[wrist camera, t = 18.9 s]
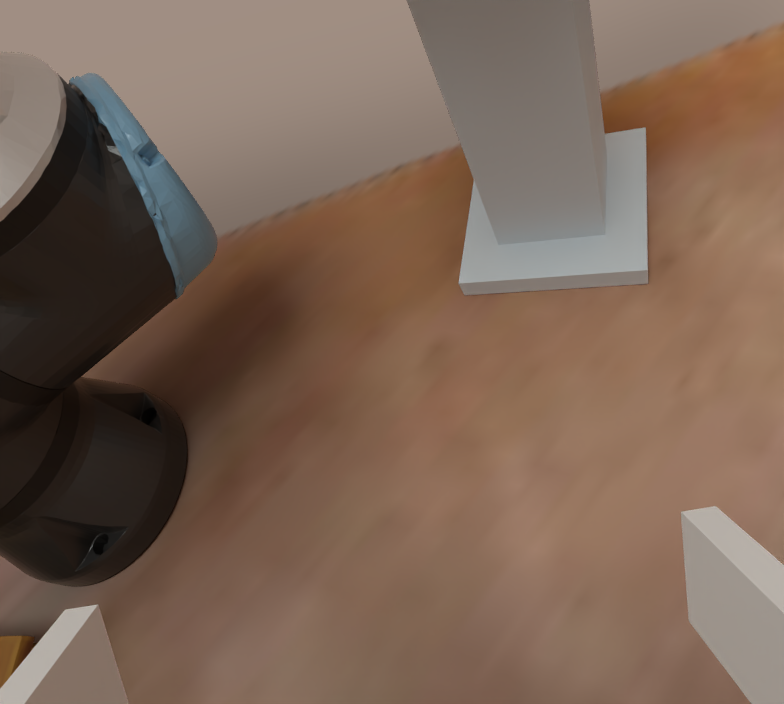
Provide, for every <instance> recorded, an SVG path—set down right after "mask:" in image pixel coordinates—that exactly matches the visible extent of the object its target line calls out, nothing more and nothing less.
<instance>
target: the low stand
mask: <svg viewBox="0 0 784 704" xmlns="http://www.w3.org/2000/svg"><path fill="white" fill-rule="evenodd" d="M407 2H408V5H409V8H410V10H411V13H412V16H413V18H414V21H415V24H416V26H417V29H418V32H419V34H420V37H421V40H422V42H423V45H424V48H425V50H426V53H427V56H428V58H429V61H430V64H431V66H432V69H433V71H434V74H435V77H436V80H437V82H438V85H439V88H440V90H441V93H442V95H443V98H444V101H445V104H446V106H447V109H448V112H449V114H450V117H451V120H452V122H453V125H454V127H455V130H456V133H457V136H458V138H459V141H460V144H461V146H462V149H463V152H464V154H465V157H466V160H467V162H468V165H469V168H470V170H471V173H472V176H473V178H474V183H473V190H472V196H471V203H470V210H469V217H468V223H467V230H466V237H465V243H464V250H463V257H462V264H461V270H460V277H459V285H460V287H461V289H462V291H463V293H464V295H477V294H493V293H509V292H525V291H541V290H557V289H573V288H589V287H605V286H621V285H637V284H648V229H647V157H646V127H645V128H639V129H632V130H626V131H620V132H613V133H607V134H605V133H604V124H603V115H602V107H601V98H600V89H599V81H598V72H597V63H596V55H595V46H594V37H593V29H592V20H591V12H590V4H589V0H407Z"/></svg>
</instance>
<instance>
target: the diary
mask: <svg viewBox="0 0 784 704" xmlns="http://www.w3.org/2000/svg"><path fill="white" fill-rule="evenodd" d="M34 638H35V637H30V636H0V689H1V687H2V686H3V685H4V684H5V682H6V681H7V680H8V679H9V678H10V676H11V675H12V674H13V673H14V671H15V670H16V669H17V668H18V667H19V665H20V664H21V663H22V662H23V660H24V659H25V658H26V657H27V656H28V654H29V653H30V652H31V651H32V649H33V648H34V647H35V646H36V645H37V643H33V641H34Z"/></svg>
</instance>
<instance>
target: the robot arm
mask: <svg viewBox="0 0 784 704" xmlns="http://www.w3.org/2000/svg"><path fill="white" fill-rule="evenodd" d="M216 250H217V236H216V233H215V231H214V228H213V227H212V224H211V223H210V221H209V220H208V218H207V217H206V215H205V214H204V212H203V210H202V209H201V207H200V206H199V204H198V203H197V201H196V200H195V199H194V197H193V196H192V194H191V193H190V192H189V190H188V189H187V187H186V186H185V184H184V183H183V182H182V180H181V179H180V177H179V176H178V175H177V173H176V172H175V171H174V169H173V168H172V167H171V165H170V164H169V163H168V161H167V160H166V159H165V158H164V156H163V155H162V154H160V152H159V151H158V150H157V147H156V146H155V144H154V143H153V142H152V140H151V139H150V138H149V137H148V135H147V134H146V132H145V130H144V129H143V128H142V126H141V125H140V124H139V122H138V121H137V120H136V118H135V117H134V116H133V114H132V113H131V112H130V110H129V109H128V108H127V107H126V105H125V104H124V103H123V102H122V100H121V99H120V98H119V97H118V95H117V94H116V93H115V92H114V91H113V89H112V88H111V87H110V86H109V85H108V84H107V82H106V81H105V80H104V79H103V78H101V77H100V76H99V75H97V74H95V73H87V74H85V75H83V76H81V77H79V76H76V78H75V79H74V77H72V78H71V79H70V80H69V84H67V83H66V82H65V81H64V80H63V79H62V78H61V77H60V76H59V75H58V74H57V73H56V72H55V71H54V70H53V69H52V68H51V67H50V66H49V65H48V64H46V63H45V62H44V61H42V60H41V59H38V58H37V57H35V56H33V55H29V54H24V53H14V52H0V555H1V556H2V557H3V558H5V559H6V560H8V561H9V562H10V563H12V564H13V565H15V566H16V567H17V568H19V569H20V570H21V571H23V572H24V573H26V574H27V575H29V576H31V577H34V578H36V579H38V580H41V581H45V582H50V583H55V584H60V585H65V586H86V585H91V584H94V583H97V582H100V581H103V580H105V579H107V578H109V577H111V576H113V575H115V574H116V573H118V572H119V571H121V570H122V569H124V568H125V567H126V566H128V565H129V564H130V563H131V562H133V561H134V560H135V559H136V558H137V557H138V556H139V555H140V554H141V553H142V552H143V551H144V550H145V549H146V548H147V547H148V546H149V545H150V543H151V542H152V541H153V540H154V538H155V537H156V536H157V534H158V533H159V531H160V530H161V529H162V527H163V525H164V524H165V522H166V521H167V519H168V517H169V515H170V513H171V511H172V509H173V507H174V505H175V503H176V500H177V498H178V495H179V492H180V489H181V486H182V483H183V478H184V474H185V468H186V459H187V445H186V437H185V432H184V428H183V426H182V423H181V421H180V419H179V417H178V415H177V414H176V412H175V411H174V410H173V409H172V408H171V406H169V405H168V404H167V403H166V402H164V401H163V400H161V399H159V398H158V397H156V396H154V395H153V394H151V393H149V392H148V391H146V390H144V389H141V388H139V387H136V386H133V385H128V384H122V383H116V382H109V381H103V380H97V379H91V378H84V377H81V376H82V375H83V374H85V373H86V372H87V371H88V370H89V369H91V368H92V367H93V366H94V365H95V364H97V363H98V362H99V361H100V360H101V359H103V358H104V357H105V356H106V355H108V354H109V353H110V352H111V351H112V350H114V349H115V348H116V347H117V346H118V345H120V344H121V343H122V342H123V341H124V340H126V339H127V338H128V337H129V336H130V335H132V334H133V333H134V332H135V331H137V330H138V329H139V328H140V327H141V326H143V325H144V324H145V323H146V322H147V321H149V320H150V319H151V318H152V317H153V316H155V315H156V314H157V313H158V312H160V311H161V310H162V309H163V308H164V307H166V306H167V305H168V304H169V303H170V302H172V301H173V300H174V299H177V298H179V297H180V296H181V295H182V294H183V292H184V288H185V287H186V286H187V285H188V284H189V283H190V282H191V281H192V280H193V279H195V278H196V277H197V276H198V275H199V274H200V273H201V272H202V271H203V270H204V269H205V268H206V267H207V266H208V265H209V264H210V263H211V261H212V260H213V258H214V256H215V252H216ZM681 520H682V534H683V548H684V562H685V576H686V590H687V604H688V618H689V622H690V623H691V625H692V626H693V627H694V629H695V630H696V631H697V632H698V634H699V635H700V636H701V638H702V639H703V640H704V642H705V643H706V644H707V646H708V647H709V648H710V650H711V651H712V652H713V654H714V655H715V656H716V658H717V659H718V660H719V662H720V663H721V664H722V666H723V667H724V668H725V669H726V671H727V672H728V673H729V675H730V676H731V677H732V679H733V680H734V681H735V683H736V684H737V685H738V687H739V688H740V689H741V691H742V692H743V693H744V695H745V696H746V697H747V699H748V700H749V701H750V702H751V704H784V565H783V564H782V563H781V562H780V561H778V560H777V559H776V558H775V557H774V556H773V555H771V554H770V553H769V552H768V551H767V550H766V549H765V548H763V547H762V546H761V545H760V544H759V543H758V542H756V541H755V540H754V539H753V538H752V537H751V536H750V535H748V534H747V533H746V532H745V531H744V530H743V529H741V528H740V527H739V526H738V525H737V524H736V523H735V522H733V521H732V520H731V519H730V518H729V517H728V516H726V515H725V514H724V513H723V512H722V511H721V510H720V509H718V508H717V507H716V506H714V507H708V508H701V509H695V510H689V511H682V512H681ZM0 704H129V702H128V699H127V696H126V693H125V689H124V686H123V683H122V680H121V677H120V673H119V670H118V667H117V664H116V660H115V657H114V654H113V651H112V647H111V644H110V641H109V638H108V634H107V631H106V628H105V625H104V621H103V618H102V615H101V612H100V608H99V605H91V606H85V607H79V608H73V609H66V610H64V612H63V613H62V614H61V615H60V617H59V618H58V619H57V620H56V621H55V623H54V624H53V625H52V626H51V627H50V629H49V630H48V631H47V632H46V634H45V635H44V636H43V637H42V638H41V640H40V641H39V642H38V643H37V645H36V646H35V647H34V648H33V649H32V651H31V652H30V653H29V654H28V656H27V657H26V658H25V659H24V660H23V662H22V663H21V664H20V665H19V667H18V668H17V669H16V670H15V671H14V673H13V674H12V675H11V676H10V678H9V679H8V680H7V681H6V682H5V684H4V685H3V686H2V687H1V689H0Z"/></svg>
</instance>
